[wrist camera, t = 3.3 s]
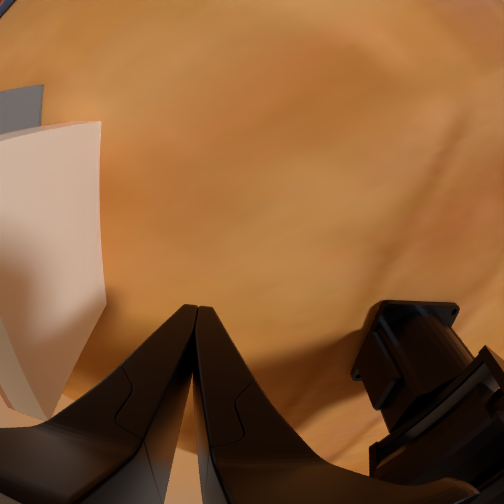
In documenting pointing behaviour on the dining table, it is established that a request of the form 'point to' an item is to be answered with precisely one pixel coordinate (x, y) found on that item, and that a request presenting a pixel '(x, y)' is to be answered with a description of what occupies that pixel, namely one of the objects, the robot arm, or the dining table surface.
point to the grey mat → (20, 108)
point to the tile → (48, 259)
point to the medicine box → (4, 5)
